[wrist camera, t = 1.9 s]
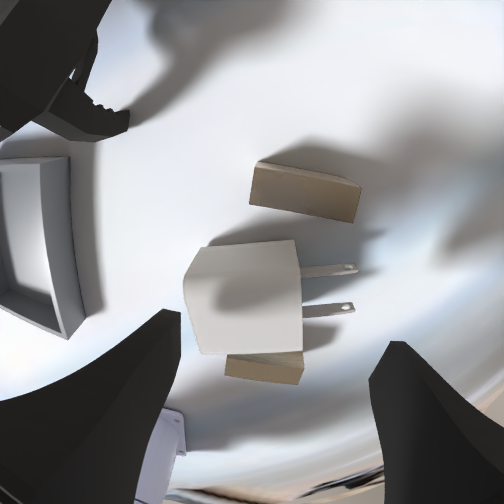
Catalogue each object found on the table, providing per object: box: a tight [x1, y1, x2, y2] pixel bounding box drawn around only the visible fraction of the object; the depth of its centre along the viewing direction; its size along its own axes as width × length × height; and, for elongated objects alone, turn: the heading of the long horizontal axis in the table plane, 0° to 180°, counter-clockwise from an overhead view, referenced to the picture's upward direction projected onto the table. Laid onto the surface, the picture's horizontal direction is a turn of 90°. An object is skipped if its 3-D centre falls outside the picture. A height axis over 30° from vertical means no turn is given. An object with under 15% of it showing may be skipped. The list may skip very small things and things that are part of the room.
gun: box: [0, 0, 130, 142], centre depth 7 cm, size 3×16×10 cm, turn 5°
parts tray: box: [0, 157, 86, 340], centre depth 13 cm, size 11×9×2 cm
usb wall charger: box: [183, 240, 358, 354], centre depth 12 cm, size 4×7×4 cm, turn 97°
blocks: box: [224, 161, 362, 385], centre depth 13 cm, size 11×4×2 cm, turn 171°
